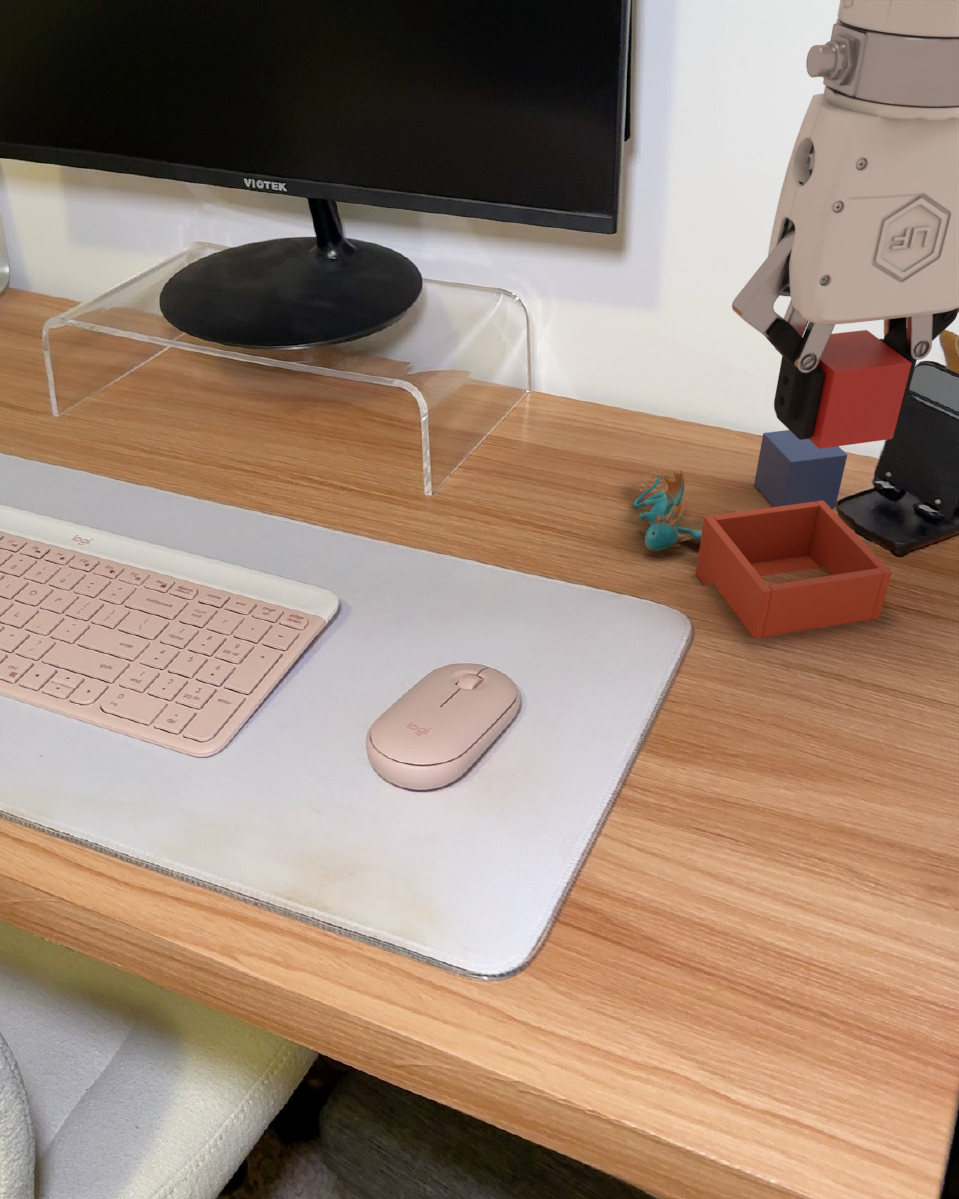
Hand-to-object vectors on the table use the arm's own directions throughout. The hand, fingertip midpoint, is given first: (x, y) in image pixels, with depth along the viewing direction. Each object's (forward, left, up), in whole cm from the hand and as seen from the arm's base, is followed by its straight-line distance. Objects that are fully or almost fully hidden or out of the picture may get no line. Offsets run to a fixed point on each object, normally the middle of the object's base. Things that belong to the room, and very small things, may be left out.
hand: (836, 419), depth 63 cm
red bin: (-1, -3, -15) cm, 16 cm away
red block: (0, 0, 0) cm, 0 cm away
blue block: (-8, -15, -15) cm, 23 cm away
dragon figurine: (+3, -13, -15) cm, 21 cm away
